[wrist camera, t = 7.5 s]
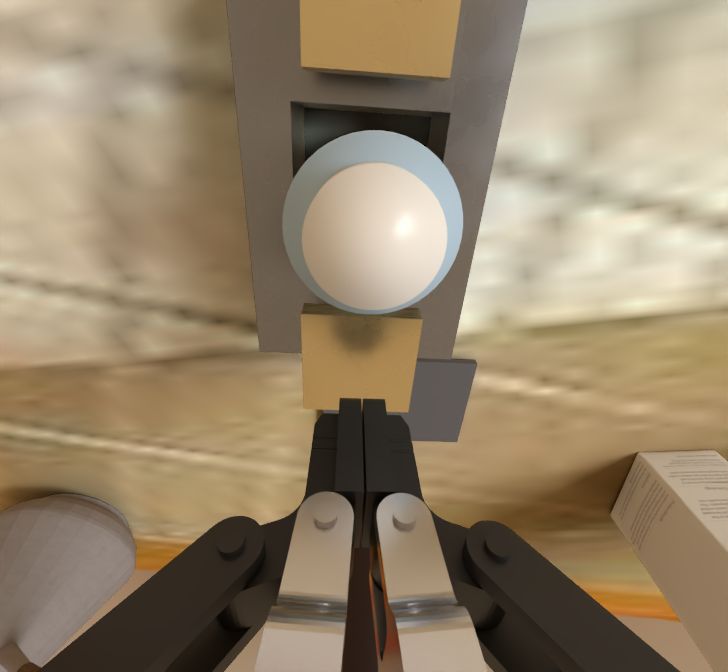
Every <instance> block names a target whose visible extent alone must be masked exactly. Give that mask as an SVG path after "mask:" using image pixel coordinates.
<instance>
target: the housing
mask: <svg viewBox="0 0 728 672" xmlns="http://www.w3.org/2000/svg"><path fill="white" fill-rule="evenodd" d="M527 1H528V0H461V5H460V12H459V19H458V26H457V33H456V40H455V47H454V53H453V60H452V67H451V74H450V78H449V79H447V80H446V81H444V82H437V81H424V80H411V79H398V78H385V77H372V76H360V75H347V74H334V73H321V72H308V71H305V70H304V69H303V68H302V67H301V37H300V0H226V5H227V15H228V26H229V36H230V46H231V57H232V67H233V78H234V88H235V99H236V109H237V120H238V130H239V140H240V151H241V161H242V172H243V182H244V193H245V203H246V214H247V224H248V235H249V245H250V255H251V266H252V276H253V287H254V297H255V308H256V318H257V329H258V339H259V349H260V352H281V353H302V337H301V312H302V309H303V305H304V303H321V304H329V303H327V302H325V301H324V300H322V299H321V298H319V297H318V296H317V295H316V294H314V293H313V292H312V291H311V290H310V289H309V288H308V287H307V286H306V285H305V284H304V283H303V282H302V280H301V279H300V277H299V276H298V275H297V273H296V271H295V270H294V268H293V266H292V264H291V262H290V259H289V257H288V254H287V252H286V248H285V244H284V238H283V230H282V218H283V210H284V203H285V200H286V196H287V193H288V190H289V188H290V186H291V183H292V181H293V179H294V177H295V176H296V174H297V173H298V171H299V169H300V168H301V167H302V166H303V164H304V163H305V136H304V108H317V109H331V110H345V111H359V112H373V113H386V114H400V115H414V116H428V117H431V124H430V132H429V139H428V147H427V148H428V149H429V150H431V151H432V152H433V153H434V154H435V155H436V156H437V157H438V158H439V159H440V160H441V161H442V163H443V164H444V165H445V166H446V168H447V169H448V171H449V173H450V174H451V176H452V178H453V179H454V182H455V184H456V186H457V189H458V192H459V195H460V199H461V203H462V210H463V231H462V239H461V243H460V247H459V250H458V253H457V255H456V258H455V260H454V262H453V264H452V266H451V268H450V270H449V271H448V273H447V274H446V276H445V277H444V278H443V280H442V281H441V282H440V283H439V284H438V285H437V286H436V288H435V289H433V290H432V291H431V292H430V293H429V294H428V295H427V296H425V297H424V298H422V299H421V300H419V301H418V302H416V303H414V304H412V305H410V306H408V307H406V308H419V310H420V313H421V316H422V318H423V322H422V329H421V335H420V341H419V348H418V354H417V358H427V359H451V357H452V352H453V347H454V343H455V338H456V333H457V329H458V324H459V319H460V315H461V310H462V305H463V301H464V296H465V291H466V287H467V282H468V277H469V272H470V268H471V263H472V258H473V254H474V249H475V244H476V240H477V235H478V230H479V226H480V221H481V216H482V212H483V207H484V202H485V198H486V193H487V188H488V184H489V179H490V174H491V169H492V165H493V160H494V155H495V151H496V146H497V141H498V137H499V132H500V127H501V123H502V118H503V113H504V109H505V104H506V99H507V95H508V90H509V85H510V81H511V76H512V71H513V66H514V62H515V57H516V52H517V48H518V43H519V38H520V34H521V29H522V24H523V20H524V15H525V10H526V6H527Z"/></svg>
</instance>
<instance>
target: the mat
mask: <svg viewBox="0 0 728 672" xmlns="http://www.w3.org/2000/svg"><path fill="white" fill-rule="evenodd" d="M476 367H477V363H476V361H475V360H467V359H427V358H417V360H416V367H415V373H414V379H413V386H412V392H411V398H410V405H409V411H408V412H387V415H401V417H402V418H403V419H404V421H405V422H406V423H407V425H408V426H409V430H410V435H411V441H441V442H457V440H458V436H459V433H460V429H461V425H462V421H463V417H464V413H465V409H466V405H467V402H468V398H469V394H470V390H471V386H472V382H473V378H474V374H475V371H476ZM323 413H335V414H339V410H323Z"/></svg>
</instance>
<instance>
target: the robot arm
mask: <svg viewBox="0 0 728 672" xmlns="http://www.w3.org/2000/svg"><path fill="white" fill-rule="evenodd" d="M360 532H361V542H362V547H363V548H370V574H369V582H370V591H371V601H372V611H373V620H374V630H375V639H376V649H377V659H378V672H488V671H487V668H486V664H485V662H486V663H487V664H488V665H489V667H490V668H491V669H492V670H493V671H494V672H680V671H679V670H678V669H676V668H675V667H674V666H673V665H672V664H670V663H669V662H668V661H667V660H666V659H664V658H663V657H662V656H661V655H660V654H658V653H657V652H656V651H655V650H654V649H652V648H651V647H650V646H649V645H648V644H646V643H645V642H644V641H643V640H642V639H641V638H639V637H638V636H637V635H636V634H635V633H634V632H632V631H631V630H630V629H629V628H628V627H626V626H625V625H624V624H623V623H622V622H620V621H619V620H618V619H617V618H616V617H615V616H613V615H612V614H611V613H610V612H609V611H607V610H606V609H605V608H604V607H603V606H601V605H600V604H599V603H598V602H597V601H595V600H594V599H593V598H592V597H591V596H590V595H588V594H587V593H586V592H585V591H584V590H582V589H581V588H580V587H579V586H578V585H576V584H575V583H574V582H573V581H572V580H571V579H569V578H568V577H567V576H566V575H565V574H563V573H562V572H561V571H560V570H559V569H557V568H556V567H555V566H554V565H553V564H552V563H550V562H549V561H548V560H547V559H546V558H544V557H543V556H542V555H541V554H540V553H538V552H537V551H536V550H535V549H534V548H532V547H531V546H530V545H529V544H528V543H527V542H525V541H524V540H523V539H522V538H521V537H519V536H518V535H517V534H516V533H515V532H513V531H512V530H511V529H510V528H508V527H506V526H505V525H503V524H500V523H498V522H494V521H480V522H477V523H475V524H474V525H473V526H472V527H471V528H470V529H468V528H465V527H462V526H459V525H456V524H453V523H450V522H448V521H445V520H443V519H441V518H440V517H438V516H437V515H435V514H434V513H433V512H432V511H431V510H430V509H429V508H428V506H427V505H426V503H425V502H424V499H423V497H422V493H421V488H420V483H419V477H418V472H417V467H416V461H415V456H414V453H413V446H412V442H411V435H410V430H409V426H408V425H407V423H406V422H405V421H404V419H403V418H402V417H401V415H387V412H386V403H385V399H366V398H363V402H361V398H340V401H339V414H335V413H323V414H322V415H321V416H320V418H319V419H318V421H317V422H316V423H315V427H314V434H313V442H312V450H311V456H310V464H309V471H308V478H307V486H306V493H305V496H304V499H303V501H302V503H301V504H300V506H299V507H298V508H297V509H296V510H295V511H294V512H293V513H291V514H290V515H289V516H287V517H285V518H283V519H280V520H277V521H274V522H271V523H267V524H264V525H261V526H260V525H259V524H258V523H257V522H256V521H255V520H253V519H251V518H249V517H245V516H234V517H230V518H227V519H224V520H222V521H220V522H219V523H217V524H216V525H214V526H213V527H212V528H211V529H209V530H208V531H207V532H206V533H205V534H203V535H202V536H201V537H200V538H198V539H197V540H196V541H195V542H194V543H192V544H191V545H190V546H189V547H188V548H186V549H185V550H184V551H183V552H181V553H180V554H179V555H178V556H177V557H175V558H174V559H173V560H172V561H171V562H169V563H168V564H167V565H166V566H164V567H163V568H162V569H161V570H160V571H158V572H157V573H156V574H155V575H154V576H152V577H151V578H150V579H149V580H147V581H146V582H145V583H144V584H143V585H141V586H140V587H139V588H138V589H137V590H135V591H134V592H133V593H132V594H131V595H129V596H128V597H127V598H126V599H124V600H123V601H122V602H121V603H120V604H119V605H117V606H116V607H115V608H113V609H112V610H111V611H110V612H109V613H107V614H106V615H105V616H104V617H103V618H101V619H100V620H99V621H98V622H96V623H95V624H94V625H93V626H92V627H90V628H89V629H88V630H87V631H86V632H85V633H83V634H82V635H81V636H79V637H78V638H77V639H76V640H75V641H73V642H72V643H71V644H70V645H69V646H67V647H66V648H65V649H64V650H63V651H61V652H60V653H59V654H58V655H57V656H56V657H54V658H53V659H52V660H50V661H49V662H48V663H47V664H46V665H44V666H43V667H42V668H41V669H39V670H38V671H37V672H224V671H225V670H226V668H227V667H228V666H229V665H230V664H231V663H232V662H233V660H234V659H235V658H236V657H237V655H238V654H239V653H240V652H241V651H242V650H243V649H244V647H245V646H246V645H247V644H248V643H249V641H250V640H251V639H252V638H253V637H254V636H255V634H256V633H257V632H258V631H259V630H260V629H261V627H262V626H263V625H264V623H265V622H266V625H265V629H264V633H263V637H262V641H261V645H260V649H259V653H258V658H257V662H256V666H255V670H254V672H342V667H343V655H344V642H345V630H346V617H347V605H348V592H349V580H350V578H351V575H352V571H353V558H354V548H359V544H360ZM266 620H267V621H266Z"/></svg>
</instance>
